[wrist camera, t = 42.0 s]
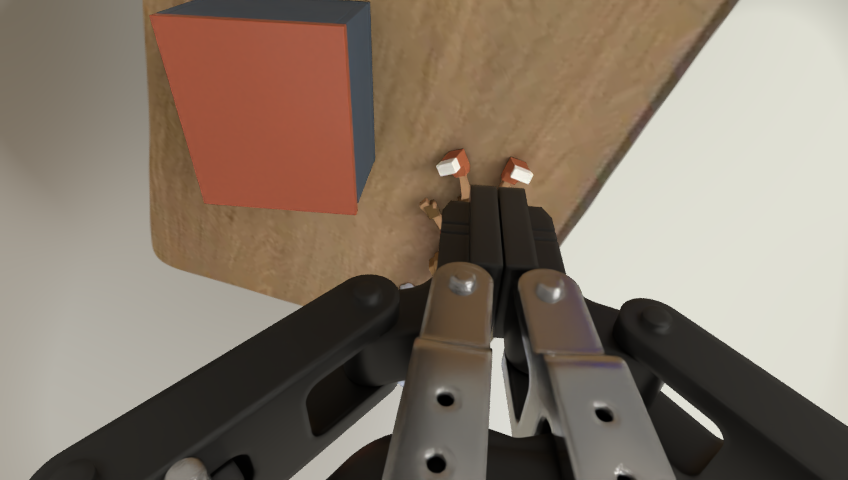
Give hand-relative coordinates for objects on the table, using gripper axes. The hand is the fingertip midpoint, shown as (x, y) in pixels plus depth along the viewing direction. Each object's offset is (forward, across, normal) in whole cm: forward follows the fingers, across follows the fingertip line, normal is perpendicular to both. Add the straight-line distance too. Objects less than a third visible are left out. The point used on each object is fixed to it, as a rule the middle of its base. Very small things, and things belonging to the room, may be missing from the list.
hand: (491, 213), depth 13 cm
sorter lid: (+22, +16, +7) cm, 28 cm away
